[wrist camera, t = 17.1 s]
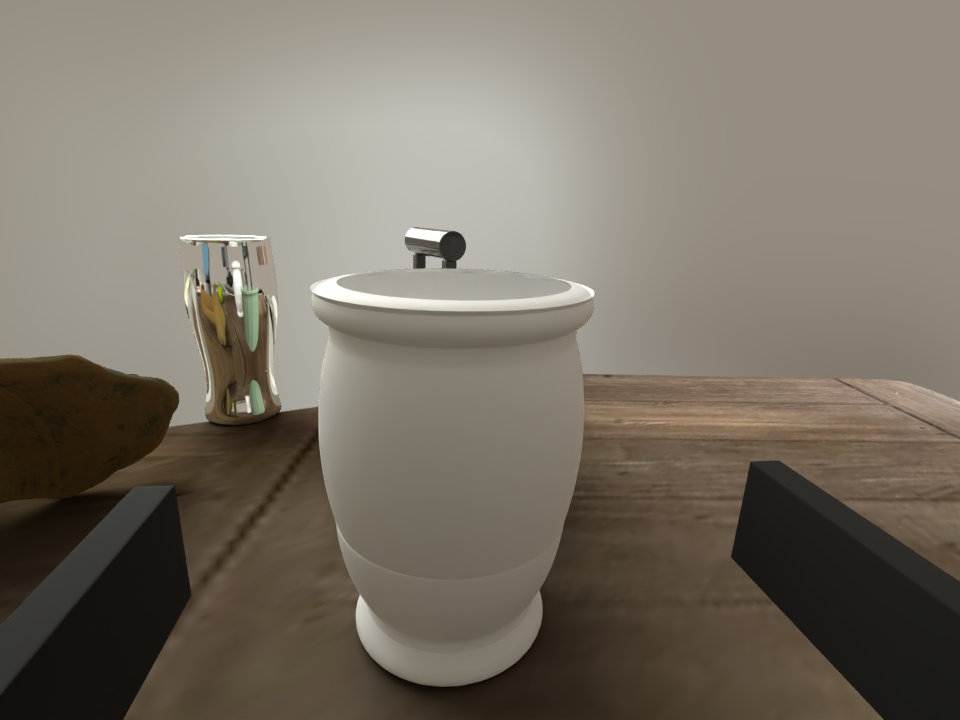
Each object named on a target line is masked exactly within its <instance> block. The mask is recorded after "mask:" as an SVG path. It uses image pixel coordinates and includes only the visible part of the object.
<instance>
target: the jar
mask: <svg viewBox="0 0 960 720" xmlns="http://www.w3.org/2000/svg"><path fill="white" fill-rule="evenodd" d="M310 290H311V291H312V292H313V294H312V299H311V302H312V308H313V311H314V313H315V315H316V316H317V317H318V318H319V319H320V320H321V321H322V322H324V323H325V324H326V325H328V326H329V333H330V334H329V339H328V343H327V346H326V350H325V355H324V359H323V365H322V372H321V381H320V392H319V412H318V429H319V447H320V457H321V465H322V471H323V477H324V482H325V487H326V491H327V495H328V499H329V502H330V506H331V509H332V512H333V515H334V518H335V521H336V528H337V534H338V539H339V543H340V548H341V551H342V555H343V558H344V561H345V564H346V567H347V570H348V572H349V575H350V577H351V579H352V581H353V583H354V585H355V587H356V589H357V590H358V592H359V594H360V596H359V599H358V603H357V608H356V626H357V631H358V634H359V637H360V640H361V642H362V644H363V646H364V648H365V649H366V651H367V652H368V653H369V655H370V656H371V657H372V658H373V659H374V660H375V661H376V662H377V663H378V664H379V665H380V666H381V667H383V668H384V669H386V670H387V671H389V672H390V673H392V674H394V675H396V676H398V677H400V678H402V679H405V680H408V681H411V682H414V683H418V684H422V685H429V686H438V687H448V686H462V685H467V684H472V683H476V682H480V681H483V680H486V679H488V678H490V677H493V676H495V675H497V674H499V673H501V672H503V671H504V670H506V669H507V668H509V667H510V666H512V665H513V664H514V663H516V662H517V661H518V660H519V659H520V658H521V657H522V656H523V655H524V654H525V653H526V652H527V651H528V649H529V648H530V647H531V645H532V644H533V642H534V640H535V638H536V636H537V634H538V632H539V629H540V626H541V621H542V613H543V607H542V599H541V594H540V591H539V590H540V588H541V586H542V585H543V583H544V581H545V579H546V577H547V575H548V573H549V571H550V569H551V567H552V564H553V562H554V559H555V556H556V553H557V550H558V546H559V543H560V539H561V535H562V530H563V525H564V522H565V519H566V516H567V513H568V509H569V506H570V503H571V499H572V495H573V492H574V488H575V483H576V479H577V474H578V469H579V464H580V458H581V450H582V441H583V428H584V388H583V374H582V365H581V359H580V353H579V349H578V345H577V341H576V333H577V329H579V328H580V327H582V326H583V325H584V324H585V323H586V322H587V321H588V320H589V319H590V318H591V316H592V313H593V309H594V301H593V296H594V291H593V290H592V289H590V288H588V287H586V286H584V285H581V284H577V283H574V282H570V281H566V280H562V279H558V278H553V277H547V276H541V275H535V274H526V273H518V272H508V271H494V270H479V269H443V268H437V269H435V268H432V269H399V270H383V271H372V272H363V273H355V274H350V275H343V276H337V277H332V278H327V279H324V280H321V281H318V282H315V283H314V284H312V285H311V286H310Z"/></svg>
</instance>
